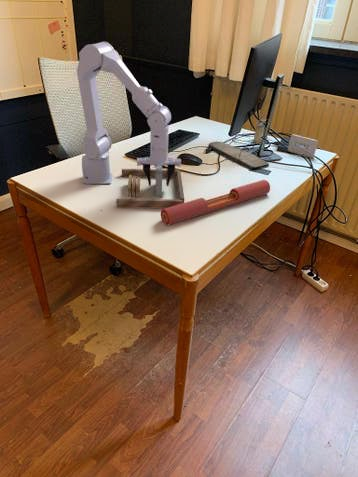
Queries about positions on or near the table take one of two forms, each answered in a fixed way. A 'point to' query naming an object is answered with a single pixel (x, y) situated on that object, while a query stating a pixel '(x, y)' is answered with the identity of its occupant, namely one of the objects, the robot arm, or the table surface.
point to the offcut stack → (133, 186)
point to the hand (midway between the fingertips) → (158, 184)
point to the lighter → (259, 131)
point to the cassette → (301, 149)
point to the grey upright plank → (158, 181)
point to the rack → (151, 202)
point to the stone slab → (237, 155)
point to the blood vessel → (213, 202)
